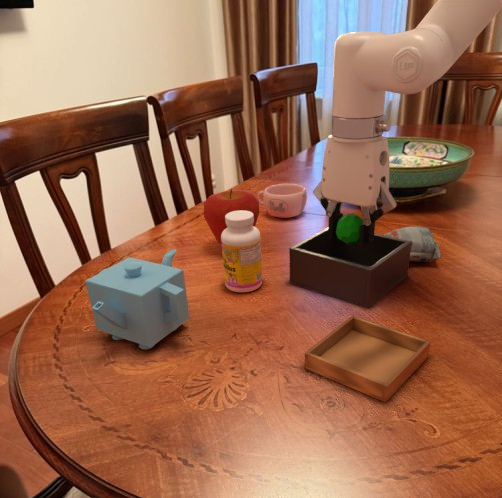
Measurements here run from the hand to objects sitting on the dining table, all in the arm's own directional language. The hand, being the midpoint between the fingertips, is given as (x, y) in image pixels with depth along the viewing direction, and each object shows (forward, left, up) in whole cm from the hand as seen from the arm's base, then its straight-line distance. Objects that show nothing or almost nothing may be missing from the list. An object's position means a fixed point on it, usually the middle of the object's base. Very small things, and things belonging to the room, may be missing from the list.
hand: (350, 240), depth 87 cm
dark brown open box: (0, 0, -7) cm, 7 cm away
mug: (+31, -21, -8) cm, 38 cm away
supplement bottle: (+14, +12, -8) cm, 20 cm away
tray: (-15, +20, -7) cm, 26 cm away
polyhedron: (0, 0, -1) cm, 1 cm away
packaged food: (-4, -15, -8) cm, 17 cm away
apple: (+27, 0, -8) cm, 28 cm away
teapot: (+16, +32, -8) cm, 37 cm away
